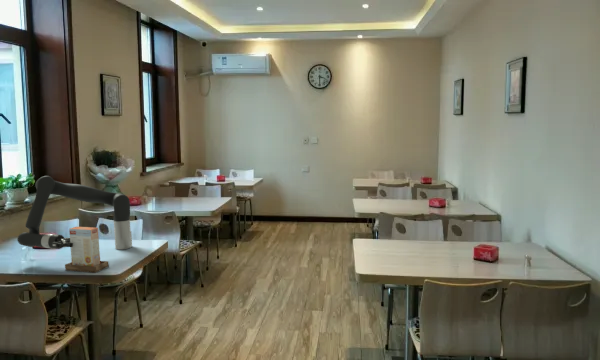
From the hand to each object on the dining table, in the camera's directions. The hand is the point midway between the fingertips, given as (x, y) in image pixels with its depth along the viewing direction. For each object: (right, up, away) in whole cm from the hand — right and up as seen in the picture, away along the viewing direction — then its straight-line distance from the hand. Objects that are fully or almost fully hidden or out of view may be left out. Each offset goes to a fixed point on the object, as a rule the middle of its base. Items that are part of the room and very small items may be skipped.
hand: (78, 243), depth 265 cm
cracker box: (+4, -13, 0) cm, 13 cm away
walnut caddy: (+5, -13, 0) cm, 14 cm away
